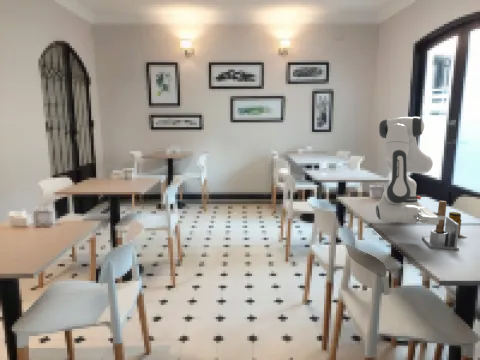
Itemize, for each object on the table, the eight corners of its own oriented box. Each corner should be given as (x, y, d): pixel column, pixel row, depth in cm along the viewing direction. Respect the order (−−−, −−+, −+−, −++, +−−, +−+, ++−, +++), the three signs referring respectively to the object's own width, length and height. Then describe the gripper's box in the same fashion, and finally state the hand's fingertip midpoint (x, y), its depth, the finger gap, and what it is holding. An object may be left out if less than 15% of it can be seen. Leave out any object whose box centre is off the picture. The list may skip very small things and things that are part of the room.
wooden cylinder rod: (439, 233, 172) (442, 200, 170) (444, 235, 169) (448, 202, 167) (433, 233, 171) (437, 200, 169) (439, 235, 168) (443, 202, 166)
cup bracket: (430, 248, 166) (432, 223, 164) (422, 238, 179) (424, 215, 177) (458, 250, 163) (461, 225, 161) (448, 240, 177) (450, 217, 175)
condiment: (442, 233, 188) (444, 211, 186) (458, 233, 188) (461, 211, 186) (450, 237, 181) (452, 214, 179) (467, 238, 181) (469, 215, 179)
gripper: (418, 213, 161) (452, 215, 158) (407, 203, 181) (437, 205, 178) (416, 226, 162) (450, 229, 159) (406, 215, 182) (436, 217, 179)
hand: (443, 216), depth 169 cm, fingers closed on wooden cylinder rod, 3 cm apart
